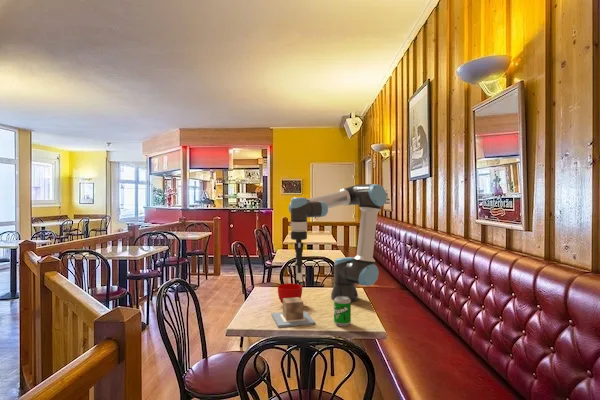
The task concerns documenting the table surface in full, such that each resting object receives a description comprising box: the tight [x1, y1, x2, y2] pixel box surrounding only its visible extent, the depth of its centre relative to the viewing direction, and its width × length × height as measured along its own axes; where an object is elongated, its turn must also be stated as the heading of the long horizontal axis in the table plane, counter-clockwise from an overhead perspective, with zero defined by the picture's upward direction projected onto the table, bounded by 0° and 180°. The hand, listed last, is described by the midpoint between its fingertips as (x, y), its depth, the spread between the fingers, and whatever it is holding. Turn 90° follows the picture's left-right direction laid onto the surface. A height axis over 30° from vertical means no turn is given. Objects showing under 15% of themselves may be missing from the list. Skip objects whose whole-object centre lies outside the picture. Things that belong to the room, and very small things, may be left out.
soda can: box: [333, 296, 352, 327], centre depth 165 cm, size 8×8×12 cm
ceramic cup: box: [277, 282, 303, 305], centre depth 195 cm, size 13×17×10 cm
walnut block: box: [282, 297, 304, 321], centre depth 171 cm, size 8×8×8 cm
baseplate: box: [271, 310, 316, 329], centre depth 171 cm, size 17×17×1 cm
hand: (299, 276), depth 170 cm, fingers open, 13 cm apart
